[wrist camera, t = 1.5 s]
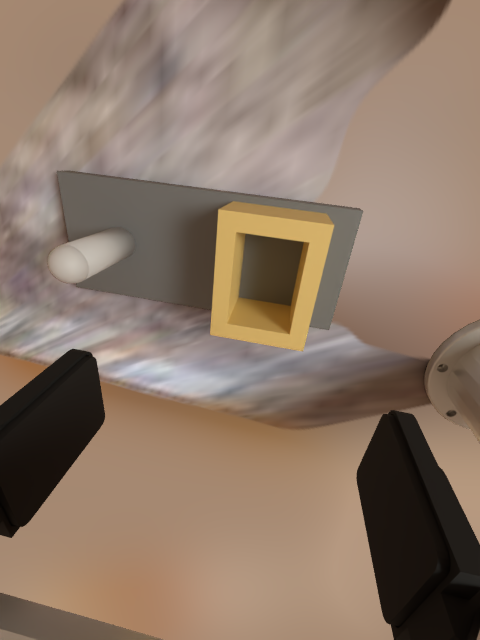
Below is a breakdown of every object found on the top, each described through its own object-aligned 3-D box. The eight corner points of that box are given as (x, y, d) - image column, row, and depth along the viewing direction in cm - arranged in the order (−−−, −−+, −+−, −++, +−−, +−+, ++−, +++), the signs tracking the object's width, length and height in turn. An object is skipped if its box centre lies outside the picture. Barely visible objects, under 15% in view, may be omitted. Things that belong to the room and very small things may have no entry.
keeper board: (359, 208, 23) (395, 231, 14) (327, 322, 27) (340, 388, 19) (69, 170, 25) (-41, 172, 17) (86, 281, 30) (6, 325, 21)
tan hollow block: (326, 213, 22) (334, 225, 17) (301, 320, 26) (302, 351, 22) (233, 201, 22) (218, 209, 18) (224, 307, 27) (210, 334, 22)
